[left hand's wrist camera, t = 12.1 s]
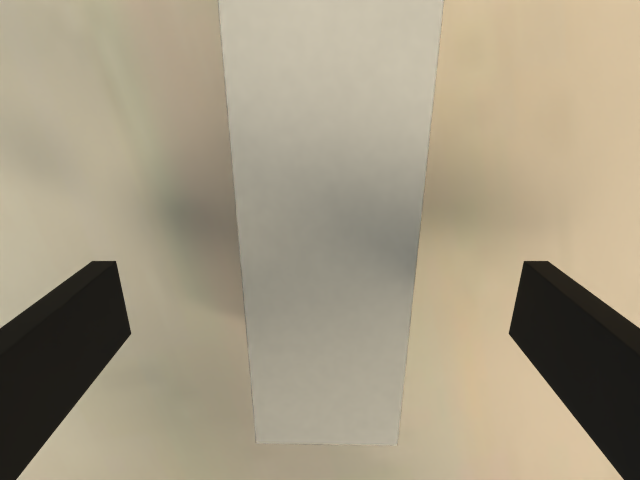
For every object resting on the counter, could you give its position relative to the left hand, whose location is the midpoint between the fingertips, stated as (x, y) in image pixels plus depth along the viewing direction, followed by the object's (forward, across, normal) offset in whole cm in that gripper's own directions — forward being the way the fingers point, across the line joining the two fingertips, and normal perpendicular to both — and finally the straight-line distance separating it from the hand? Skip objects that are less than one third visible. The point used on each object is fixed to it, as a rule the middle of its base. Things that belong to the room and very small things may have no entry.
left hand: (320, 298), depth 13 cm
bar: (+7, 0, -25) cm, 26 cm away
